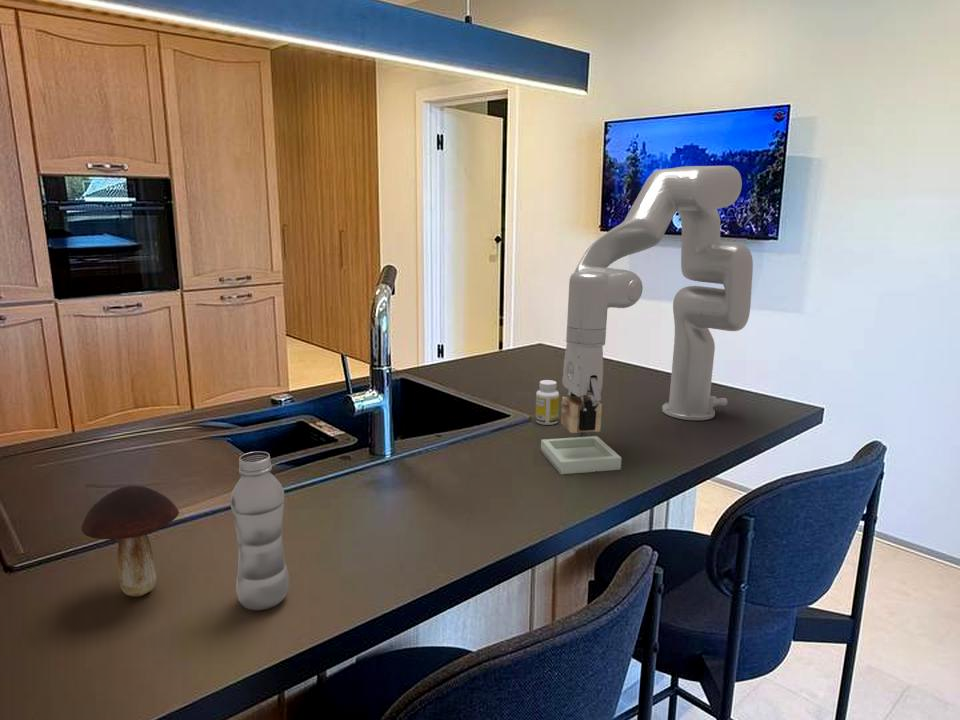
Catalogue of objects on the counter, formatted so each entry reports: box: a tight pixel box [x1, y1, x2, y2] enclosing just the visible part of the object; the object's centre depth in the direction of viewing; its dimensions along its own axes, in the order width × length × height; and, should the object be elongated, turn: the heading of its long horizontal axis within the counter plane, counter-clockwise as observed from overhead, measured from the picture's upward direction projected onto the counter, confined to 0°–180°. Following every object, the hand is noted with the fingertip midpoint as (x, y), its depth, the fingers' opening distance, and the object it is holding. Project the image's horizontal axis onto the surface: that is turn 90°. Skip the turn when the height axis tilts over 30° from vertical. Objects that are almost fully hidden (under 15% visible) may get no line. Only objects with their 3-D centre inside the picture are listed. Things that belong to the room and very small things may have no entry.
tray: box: [540, 435, 622, 475], centre depth 135 cm, size 12×12×2 cm
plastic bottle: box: [229, 450, 290, 611], centre depth 84 cm, size 6×7×20 cm
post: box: [576, 393, 589, 437], centre depth 146 cm, size 2×2×10 cm
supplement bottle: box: [535, 379, 560, 426], centre depth 157 cm, size 5×5×10 cm
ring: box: [560, 396, 603, 434], centre depth 132 cm, size 6×8×6 cm
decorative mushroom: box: [80, 485, 180, 598], centre depth 86 cm, size 11×11×15 cm
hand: (580, 423), depth 133 cm, fingers closed on ring, 6 cm apart
